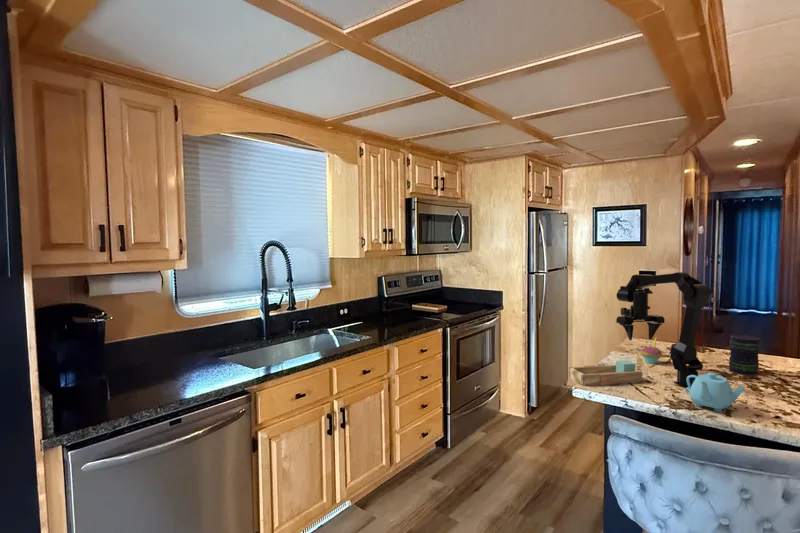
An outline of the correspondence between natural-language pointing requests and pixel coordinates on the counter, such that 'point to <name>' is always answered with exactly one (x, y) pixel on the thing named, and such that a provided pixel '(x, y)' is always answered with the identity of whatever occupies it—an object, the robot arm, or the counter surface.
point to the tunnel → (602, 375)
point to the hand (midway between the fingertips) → (640, 339)
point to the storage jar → (744, 354)
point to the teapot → (712, 391)
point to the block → (625, 366)
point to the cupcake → (651, 354)
